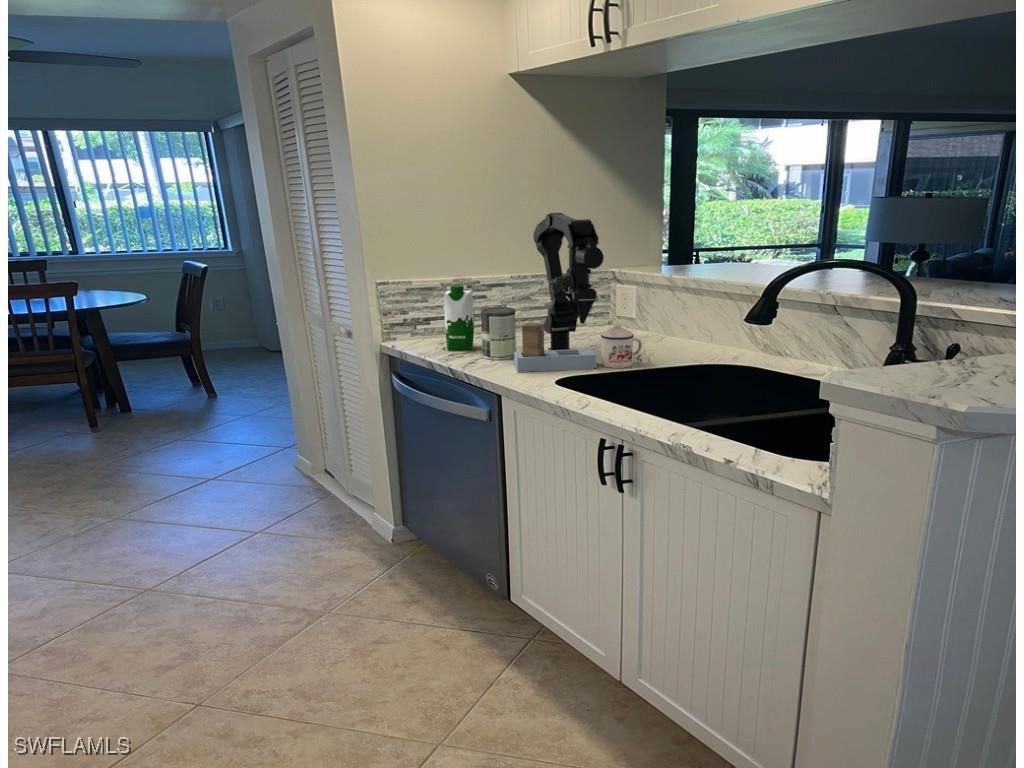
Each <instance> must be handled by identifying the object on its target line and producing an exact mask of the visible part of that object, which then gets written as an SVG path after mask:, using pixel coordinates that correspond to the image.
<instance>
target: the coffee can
mask: <svg viewBox="0 0 1024 768" xmlns="http://www.w3.org/2000/svg"><path fill="white" fill-rule="evenodd" d="M480 314H481V315H480V316H481V318H480V319H481V342H482V343H481V345H482V346H481V347H482V348H481V349H482V358H483V359H485V358H486V360H490V359H492V361H500V360H499V359H505V360H510V358H511V359H514V358H513V357H514V352H517V347H516V345H517V344H516V343H517V342H516V341H517V340H516V339H517V338H516V309H515V308H512V307H506V306H505V307H503V306H501V307H499V306H497V307H496V306H495V307H486V308H482V309H481V310H480Z"/></svg>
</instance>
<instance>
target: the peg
mask: <svg viewBox="0 0 1024 768" xmlns="http://www.w3.org/2000/svg"><path fill="white" fill-rule="evenodd" d="M544 323H545V322H544ZM544 323H543V322H542V323H541V322H527V323H525V324H522V326H521V329H522V330H521V331H522V335H521V337H522V352H523V357H543V356H544V351H545V330H544Z"/></svg>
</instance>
